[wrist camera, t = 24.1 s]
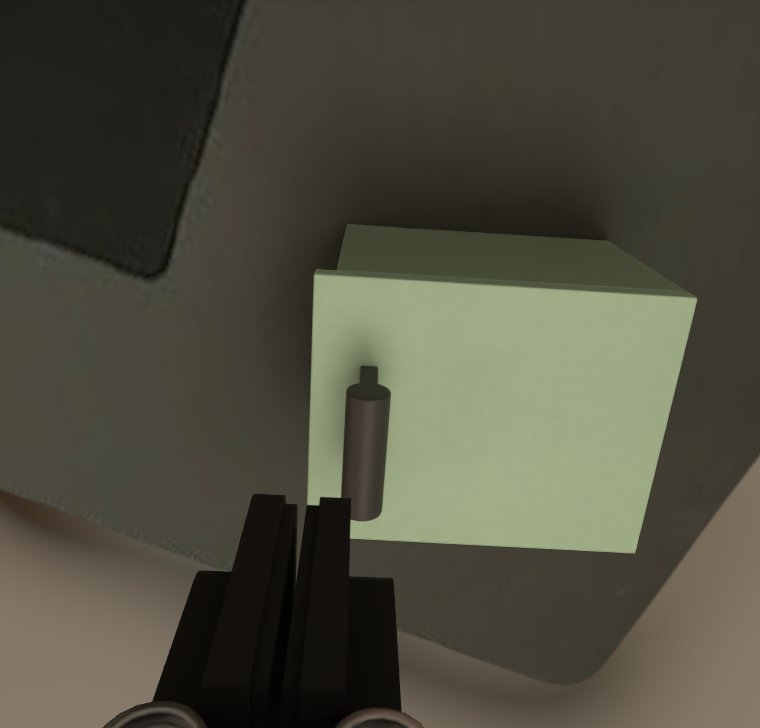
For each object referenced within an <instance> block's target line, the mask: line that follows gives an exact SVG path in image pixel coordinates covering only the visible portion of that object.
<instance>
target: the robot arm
mask: <svg viewBox="0 0 760 728" xmlns="http://www.w3.org/2000/svg"><path fill="white" fill-rule="evenodd" d="M350 523H351V498H335V497H320V501H319V505H307V508H306V515H305V523H304V530H303V537H302V545H301V552H300V560H299V567H298V574H297V582H296V548H297V504H286V496H285V495H267V494H253V496H252V499H251V502H250V506H249V510H248V514H247V517H246V521H245V525H244V528H243V532H242V536H241V539H240V543H239V547H238V550H237V554H236V558H235V562H234V565H233V569H232V572H223V571H199V572H198V573H197V574H196V576H195V579H194V581H193V584H192V587H191V590H190V593H189V596H188V599H187V602H186V605H185V608H184V611H183V613H182V616H181V619H180V622H179V625H178V628H177V631H176V634H175V637H174V640H173V643H172V646H171V649H170V651H169V655H168V657H167V660H166V663H165V666H164V669H163V672H162V675H161V678H160V680H159V683H158V687H157V689H156V692H155V695H154V698H153V701H152V702H149V703H145V704H140V705H137V706H135V707H133V708H130V709H128V710H126V711H124V712H122V713H120V714H119V715H117V716H116V717H115V718H114V719H112V720H111V721H110V722H108V723H107V724H106V725H105V726H104V727H103V728H424V727H423V725H422V724H421V723H420V722H418V721H417V720H415V719H414V718H412V717H411V716H409V715H407V714H406V713H403V712H401V696H400V680H399V662H398V646H397V629H396V612H395V595H394V582H393V578H375V577H350V576H349V556H350ZM295 588H296V589H295Z"/></svg>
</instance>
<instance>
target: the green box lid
mask: <svg viewBox="0 0 760 728" xmlns="http://www.w3.org/2000/svg"><path fill="white" fill-rule="evenodd" d="M696 302H697V297H695V296H694V295H692V294H690V293H689V292H674V291H658V290H642V289H626V288H610V287H594V286H578V285H562V284H546V283H530V282H514V281H498V280H482V279H466V278H450V277H434V276H418V275H402V274H386V273H370V272H354V271H338V270H322V269H316V270H315V273H314V284H313V319H312V353H311V387H310V421H309V456H308V490H307V505H319V501H320V497H335V498H351V523H350V538H352V539H372V540H391V541H410V542H429V543H448V544H467V545H486V546H505V547H525V548H544V549H563V550H582V551H601V552H620V553H635V551H636V547H637V543H638V539H639V535H640V531H641V526H642V522H643V518H644V514H645V510H646V506H647V502H648V498H649V494H650V490H651V486H652V482H653V478H654V473H655V469H656V465H657V461H658V457H659V453H660V449H661V445H662V441H663V437H664V433H665V429H666V425H667V421H668V416H669V412H670V408H671V404H672V400H673V396H674V392H675V388H676V384H677V380H678V376H679V372H680V368H681V364H682V359H683V355H684V351H685V347H686V343H687V339H688V335H689V331H690V327H691V323H692V319H693V315H694V311H695V307H696Z"/></svg>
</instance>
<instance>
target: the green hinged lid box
mask: <svg viewBox="0 0 760 728" xmlns="http://www.w3.org/2000/svg"><path fill="white" fill-rule="evenodd" d="M337 270H338V271H354V272H370V273H386V274H402V275H418V276H434V277H450V278H466V279H482V280H498V281H514V282H530V283H546V284H562V285H578V286H594V287H610V288H626V289H642V290H658V291H674V292H687V291H685V290H684V289H682V288H681V287H679V286H678V285H676V284H674V283H673V282H671V281H670V280H668V279H667V278H665V277H664V276H662V275H660V274H659V273H657V272H656V271H654V270H653V269H651V268H650V267H648V266H646V265H645V264H643V263H642V262H640V261H639V260H637V259H636V258H634V257H632V256H631V255H629V254H628V253H626V252H625V251H623V250H621V249H620V248H618V247H617V246H615V245H614V244H612V243H611V242H609V241H605V240H589V239H573V238H558V237H542V236H526V235H511V234H495V233H479V232H464V231H448V230H432V229H417V228H401V227H385V226H370V225H354V224H347V225H346V230H345V235H344V239H343V244H342V248H341V253H340V257H339V262H338V266H337Z"/></svg>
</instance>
